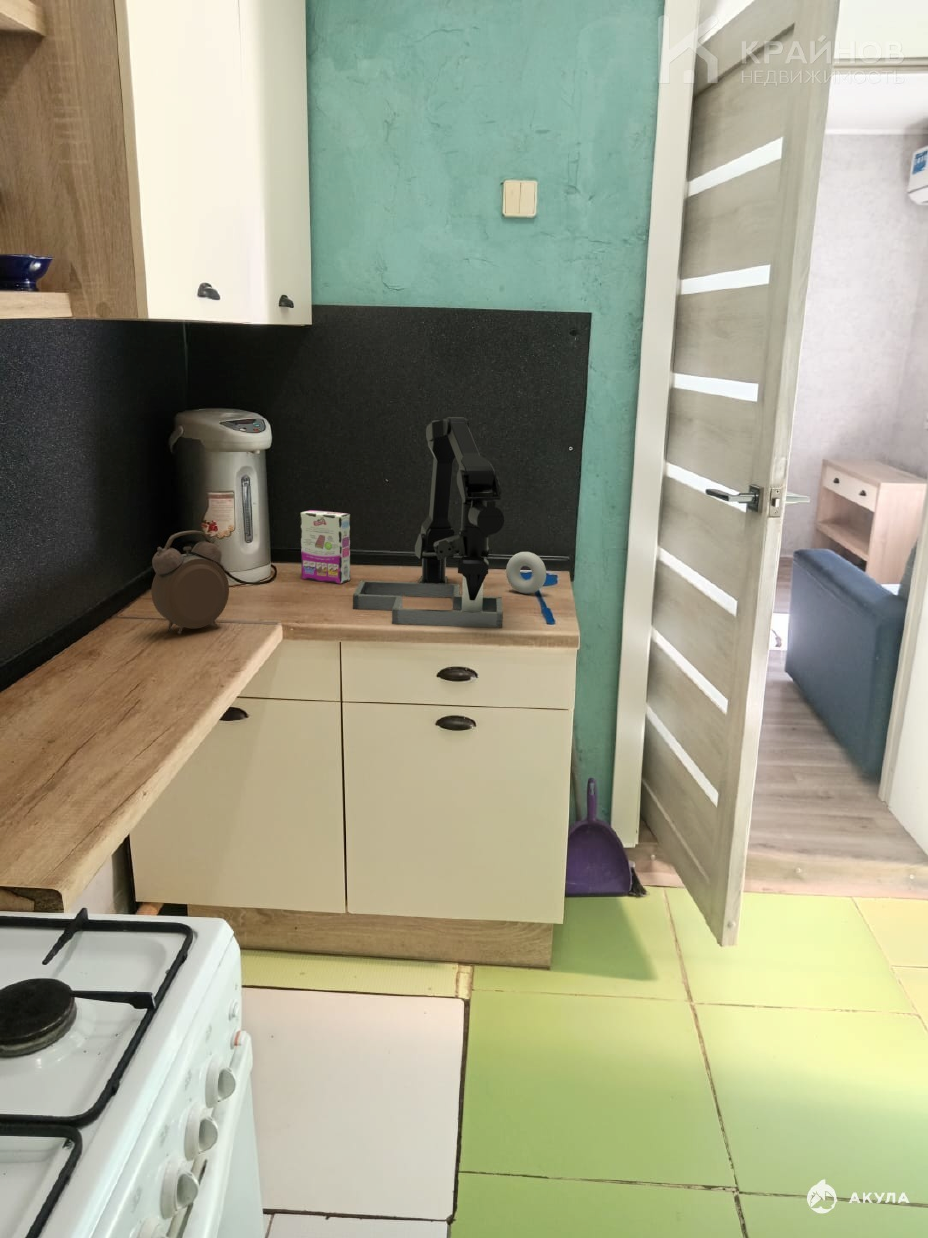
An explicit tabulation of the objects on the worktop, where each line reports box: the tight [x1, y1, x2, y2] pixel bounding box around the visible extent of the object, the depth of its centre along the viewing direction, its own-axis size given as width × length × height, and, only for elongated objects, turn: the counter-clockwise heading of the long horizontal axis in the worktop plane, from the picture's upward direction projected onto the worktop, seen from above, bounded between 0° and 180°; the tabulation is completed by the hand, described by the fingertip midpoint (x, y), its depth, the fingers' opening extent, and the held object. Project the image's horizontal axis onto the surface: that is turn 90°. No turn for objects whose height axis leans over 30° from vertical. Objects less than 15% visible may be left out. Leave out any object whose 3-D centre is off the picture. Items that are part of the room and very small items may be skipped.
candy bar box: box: [299, 509, 351, 585], centre depth 236 cm, size 11×5×16 cm, turn 68°
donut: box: [505, 551, 547, 595], centre depth 230 cm, size 10×4×10 cm, turn 64°
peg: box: [461, 575, 484, 612], centre depth 209 cm, size 4×4×9 cm
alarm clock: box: [150, 530, 230, 635], centre depth 193 cm, size 14×7×20 cm, turn 134°
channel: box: [352, 580, 504, 629], centre depth 215 cm, size 23×32×3 cm
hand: (472, 597), depth 209 cm, fingers closed on peg, 4 cm apart
